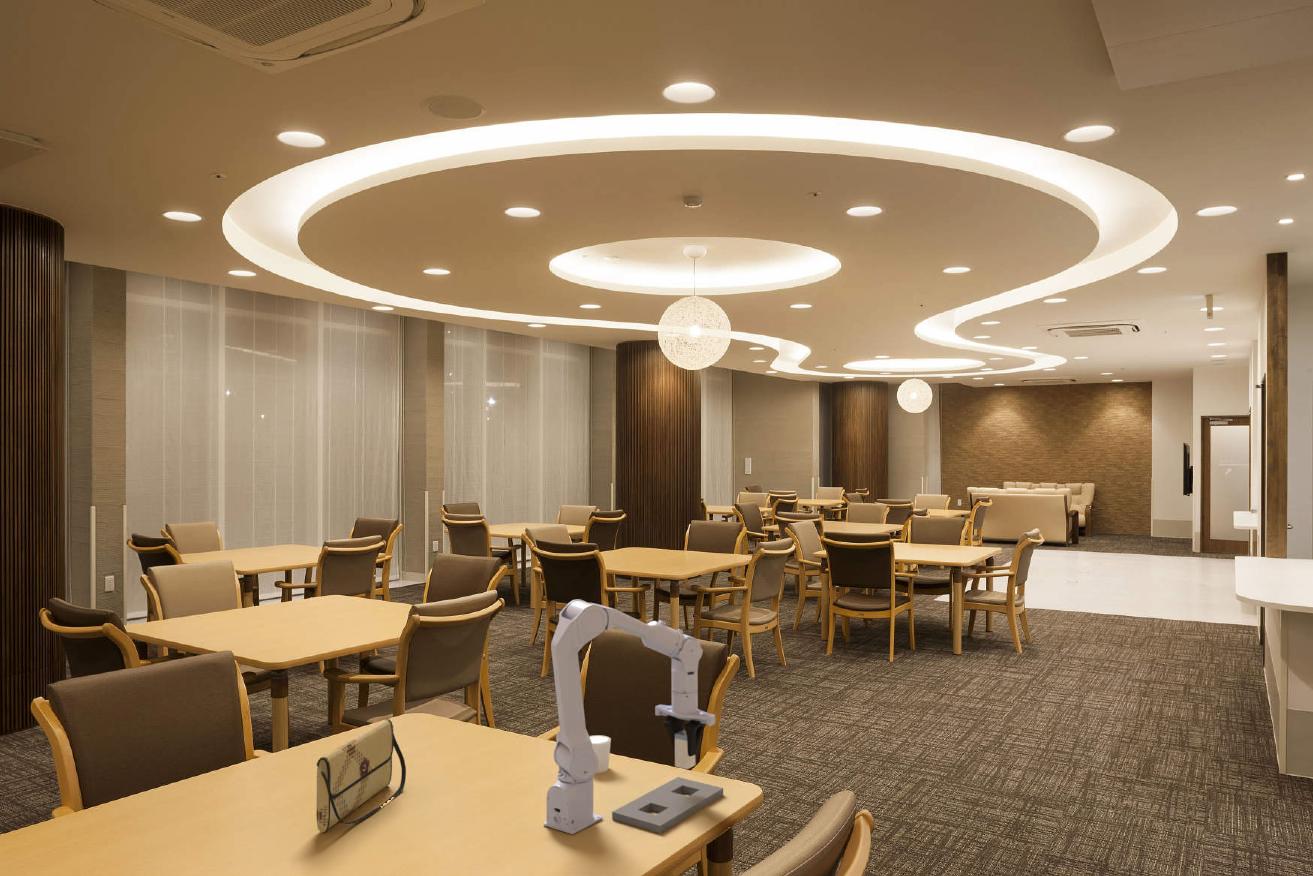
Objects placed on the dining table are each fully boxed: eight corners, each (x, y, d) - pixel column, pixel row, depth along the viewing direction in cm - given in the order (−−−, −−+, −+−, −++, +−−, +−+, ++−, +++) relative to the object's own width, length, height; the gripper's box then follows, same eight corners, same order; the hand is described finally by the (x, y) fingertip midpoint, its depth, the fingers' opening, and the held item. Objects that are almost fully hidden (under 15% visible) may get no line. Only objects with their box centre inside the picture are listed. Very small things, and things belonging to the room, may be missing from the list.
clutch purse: (343, 839, 162) (344, 761, 163) (310, 837, 163) (311, 759, 164) (413, 784, 191) (414, 717, 192) (385, 782, 192) (386, 716, 193)
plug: (687, 769, 180) (687, 736, 180) (675, 766, 182) (674, 733, 182) (695, 765, 182) (695, 732, 183) (683, 762, 184) (682, 730, 184)
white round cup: (613, 764, 203) (613, 735, 203) (608, 774, 196) (608, 744, 197) (585, 763, 204) (585, 734, 204) (579, 773, 197) (579, 743, 197)
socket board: (660, 833, 163) (660, 826, 164) (612, 819, 170) (612, 811, 170) (723, 795, 183) (723, 788, 183) (678, 783, 190) (677, 777, 190)
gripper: (722, 691, 182) (723, 754, 181) (667, 681, 190) (668, 742, 189) (705, 698, 176) (705, 763, 175) (649, 688, 184) (649, 750, 184)
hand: (685, 753), depth 182 cm, fingers closed on plug, 3 cm apart
